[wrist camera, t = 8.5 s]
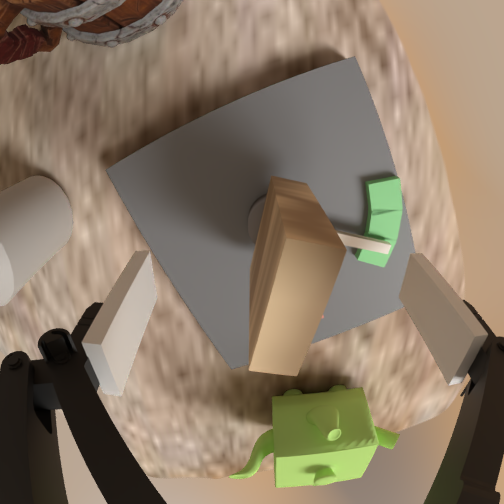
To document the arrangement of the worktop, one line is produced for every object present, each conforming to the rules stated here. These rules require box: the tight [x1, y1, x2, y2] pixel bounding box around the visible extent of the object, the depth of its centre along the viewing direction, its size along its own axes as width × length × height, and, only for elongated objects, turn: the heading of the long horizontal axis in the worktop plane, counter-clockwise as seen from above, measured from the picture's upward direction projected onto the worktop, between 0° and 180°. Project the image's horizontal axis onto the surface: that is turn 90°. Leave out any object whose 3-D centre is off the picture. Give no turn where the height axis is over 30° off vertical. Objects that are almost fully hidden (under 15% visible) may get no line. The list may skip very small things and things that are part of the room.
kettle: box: [229, 385, 400, 488], centre depth 32 cm, size 15×14×11 cm
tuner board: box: [106, 56, 415, 369], centre depth 26 cm, size 22×20×3 cm
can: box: [0, 176, 73, 306], centre depth 20 cm, size 8×8×12 cm
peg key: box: [248, 176, 391, 376], centre depth 19 cm, size 11×7×12 cm, turn 78°
